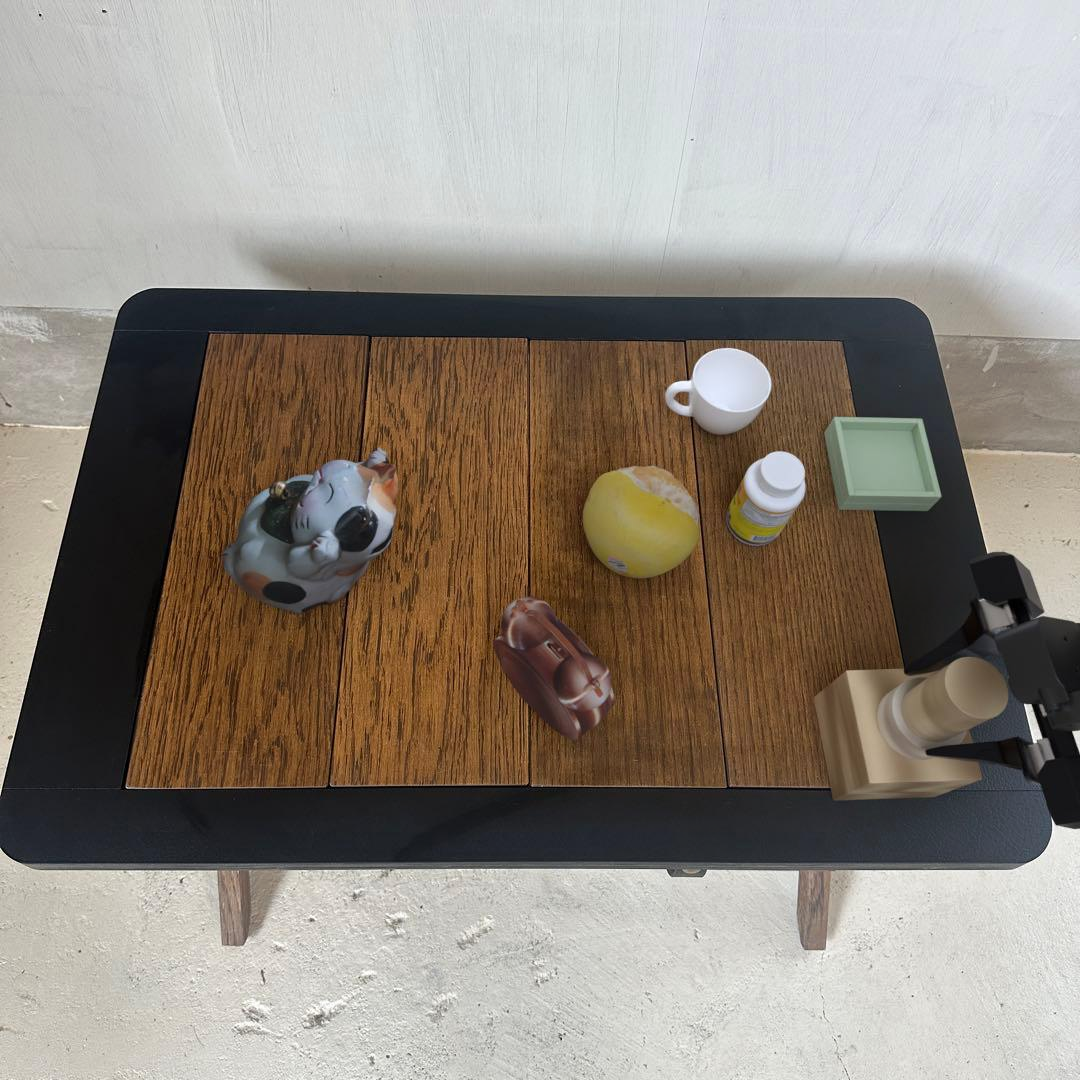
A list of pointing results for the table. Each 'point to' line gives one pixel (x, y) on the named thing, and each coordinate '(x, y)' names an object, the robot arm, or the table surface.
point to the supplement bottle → (766, 498)
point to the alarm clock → (553, 668)
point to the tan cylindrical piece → (941, 706)
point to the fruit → (640, 521)
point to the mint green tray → (881, 464)
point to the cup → (723, 391)
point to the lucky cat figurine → (314, 533)
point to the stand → (877, 744)
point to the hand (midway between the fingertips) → (916, 712)
